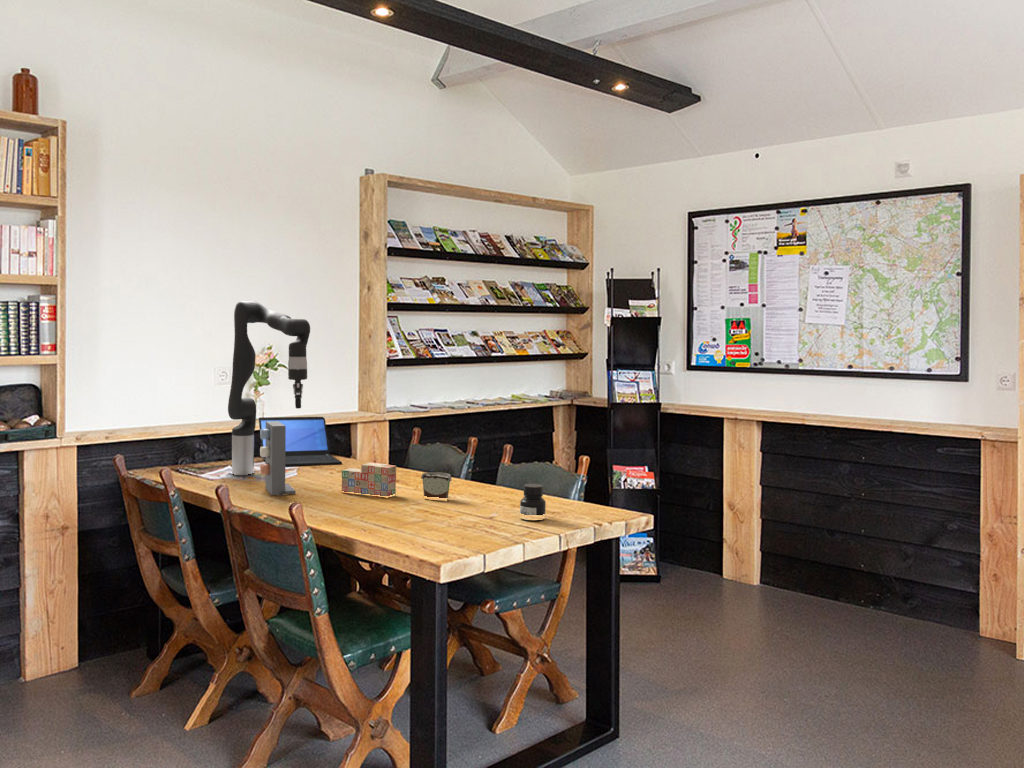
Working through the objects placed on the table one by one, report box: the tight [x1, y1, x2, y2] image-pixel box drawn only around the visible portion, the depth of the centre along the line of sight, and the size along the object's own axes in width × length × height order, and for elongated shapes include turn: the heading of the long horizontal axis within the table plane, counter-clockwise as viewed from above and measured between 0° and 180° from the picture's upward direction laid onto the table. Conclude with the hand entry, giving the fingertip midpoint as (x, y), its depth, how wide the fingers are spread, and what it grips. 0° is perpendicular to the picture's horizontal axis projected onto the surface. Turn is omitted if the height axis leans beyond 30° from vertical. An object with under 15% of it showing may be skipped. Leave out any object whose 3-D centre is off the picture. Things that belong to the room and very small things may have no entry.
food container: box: [420, 471, 453, 499], centre depth 342 cm, size 12×6×10 cm, turn 71°
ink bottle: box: [519, 483, 547, 515], centre depth 311 cm, size 10×9×12 cm
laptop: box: [258, 416, 343, 467], centre depth 427 cm, size 33×38×19 cm
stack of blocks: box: [341, 462, 397, 496], centre depth 348 cm, size 21×6×12 cm, turn 67°
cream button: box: [259, 446, 270, 458], centre depth 347 cm, size 4×4×4 cm
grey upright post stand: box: [264, 421, 297, 496], centre depth 349 cm, size 16×9×27 cm, turn 24°
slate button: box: [259, 429, 270, 440], centre depth 346 cm, size 4×4×4 cm
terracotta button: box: [259, 463, 270, 476], centre depth 347 cm, size 4×4×4 cm
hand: (298, 407), depth 362 cm, fingers open, 8 cm apart
